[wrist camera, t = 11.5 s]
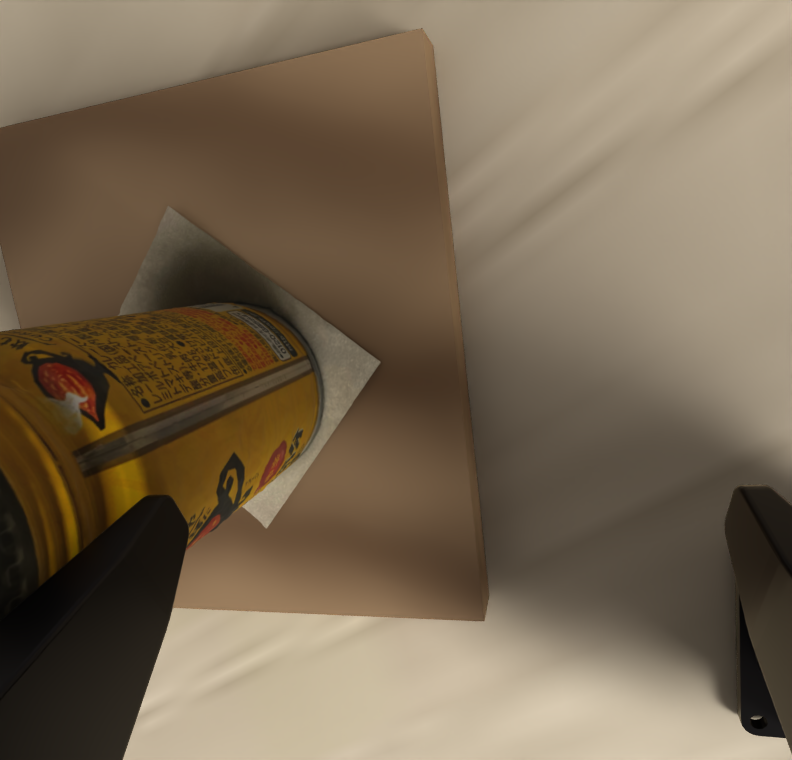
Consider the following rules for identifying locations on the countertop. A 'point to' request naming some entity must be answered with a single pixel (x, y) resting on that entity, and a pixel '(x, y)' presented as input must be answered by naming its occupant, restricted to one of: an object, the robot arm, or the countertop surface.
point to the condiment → (164, 405)
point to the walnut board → (307, 282)
